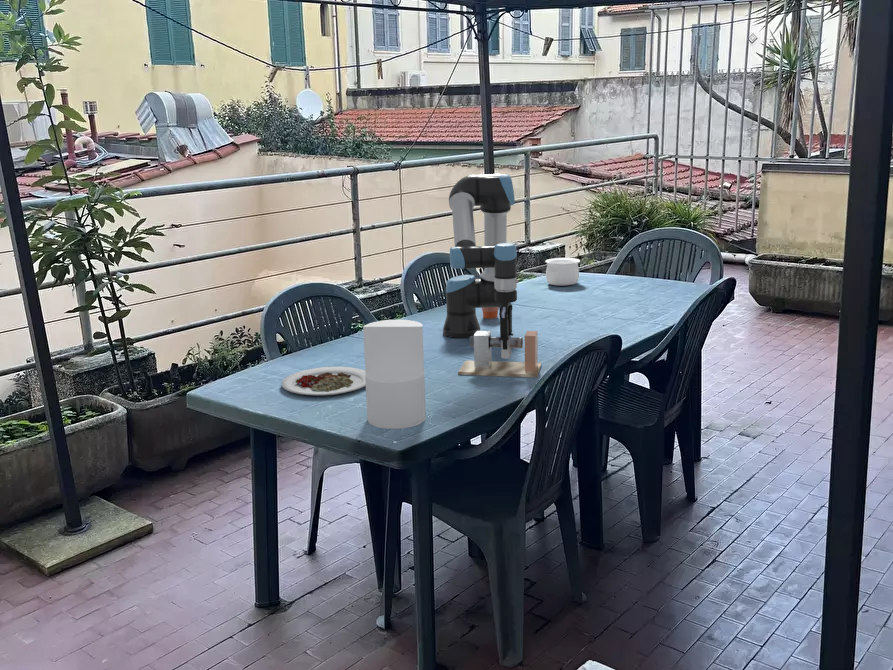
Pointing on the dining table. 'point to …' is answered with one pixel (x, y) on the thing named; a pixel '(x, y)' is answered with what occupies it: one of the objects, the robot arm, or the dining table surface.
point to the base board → (499, 369)
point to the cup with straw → (490, 312)
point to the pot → (562, 271)
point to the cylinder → (394, 373)
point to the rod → (495, 342)
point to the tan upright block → (531, 350)
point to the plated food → (325, 381)
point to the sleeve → (482, 350)
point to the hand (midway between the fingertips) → (506, 356)
